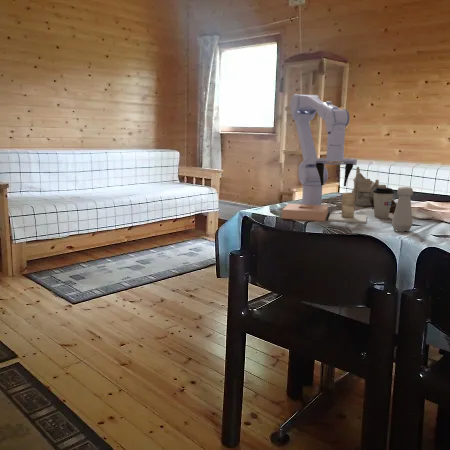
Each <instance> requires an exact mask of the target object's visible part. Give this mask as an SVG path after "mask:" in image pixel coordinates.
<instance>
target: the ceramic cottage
mask: <svg viewBox="0 0 450 450" xmlns="http://www.w3.org/2000/svg"><path fill="white" fill-rule="evenodd" d="M355 169H356V170H355V176H354V177H353V188H352V190H351V193H355V206H364V207H368V206H370V207H373V206H372V204H371V202H370V200H371V198H372V196H373V191H374V190H376V188H377V187H385V188H387V185H386V184H380V182H379V181H380V180H379V179H375V182H374V181H372V180H371V178H366V177H365V176H364V175H363V174H362V173H361V171H360V167H359V166H356V168H355Z"/></svg>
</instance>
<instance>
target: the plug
mask: <svg viewBox="0 0 450 450" xmlns="http://www.w3.org/2000/svg"><path fill="white" fill-rule="evenodd" d="M341 202H342V204H341V214H342V217H343V218H354V215H355V206H356V205H355V193H352V192H342V201H341Z"/></svg>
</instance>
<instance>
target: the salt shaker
mask: <svg viewBox="0 0 450 450" xmlns="http://www.w3.org/2000/svg"><path fill="white" fill-rule="evenodd" d="M413 194H414V189H413V188H412V187H410V186H400V187H397V192H396V195H397V196H398V199H397V201H396V204H397V205H396V209H395V212H393V216H392V221H391V225H392V228H393V231H395V230H397V231H396V232H398V231H409V232H410V231H411V228H412V226H413V215H412V213H413V212H412V201H411V200H412V199H411V196H413Z"/></svg>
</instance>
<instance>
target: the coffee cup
mask: <svg viewBox="0 0 450 450" xmlns="http://www.w3.org/2000/svg"><path fill="white" fill-rule="evenodd" d="M394 194H395V192H394V191H393V189H392V188H390V187H386V188H385V187H377V188H376V190H374V191H373V196H374V207H373V211H374V212H373V213H374V215H373V216H374V218H378V219H388V218H389V216H390V212H391V211H390V207H391V202H392V200H393V198H394Z"/></svg>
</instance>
